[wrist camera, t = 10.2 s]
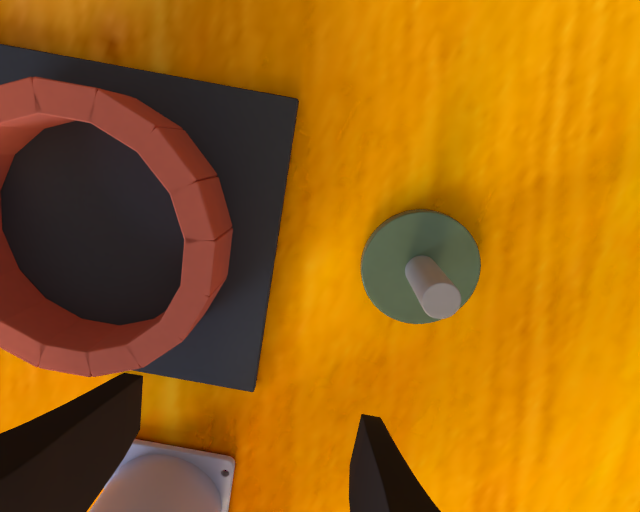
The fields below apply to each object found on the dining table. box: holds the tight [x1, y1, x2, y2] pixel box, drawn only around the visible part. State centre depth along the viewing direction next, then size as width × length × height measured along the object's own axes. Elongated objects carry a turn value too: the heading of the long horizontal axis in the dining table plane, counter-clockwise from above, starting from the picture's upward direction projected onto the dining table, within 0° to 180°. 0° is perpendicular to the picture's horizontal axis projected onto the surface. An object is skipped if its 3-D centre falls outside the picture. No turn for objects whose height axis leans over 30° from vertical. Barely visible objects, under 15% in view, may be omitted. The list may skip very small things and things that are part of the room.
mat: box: [0, 44, 299, 392], centre depth 21 cm, size 16×17×1 cm
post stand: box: [361, 209, 481, 324], centre depth 18 cm, size 6×6×5 cm
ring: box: [0, 77, 233, 377], centre depth 19 cm, size 13×13×3 cm
